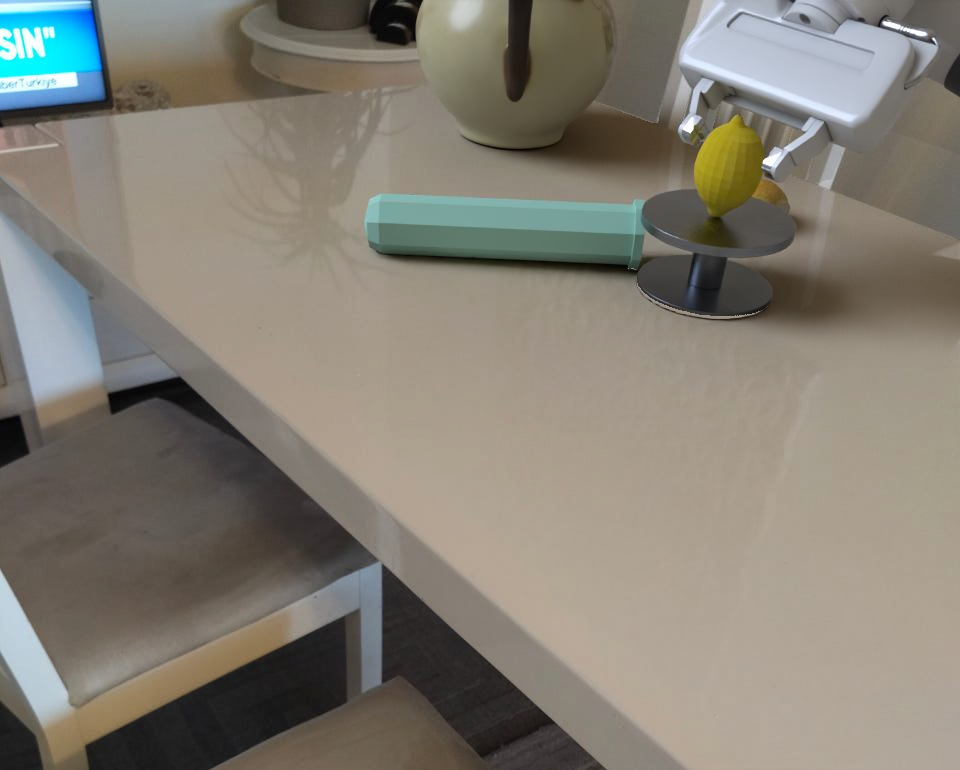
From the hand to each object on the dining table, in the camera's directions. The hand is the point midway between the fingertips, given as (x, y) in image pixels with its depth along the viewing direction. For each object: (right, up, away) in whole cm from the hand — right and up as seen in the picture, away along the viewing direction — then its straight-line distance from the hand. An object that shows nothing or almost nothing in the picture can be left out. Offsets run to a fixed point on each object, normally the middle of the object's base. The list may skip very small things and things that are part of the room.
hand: (726, 157), depth 79 cm
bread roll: (+7, +4, +21) cm, 22 cm away
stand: (0, -8, +8) cm, 11 cm away
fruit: (0, -3, +4) cm, 5 cm away
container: (-18, -4, +11) cm, 22 cm away
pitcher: (-16, +20, +36) cm, 44 cm away
